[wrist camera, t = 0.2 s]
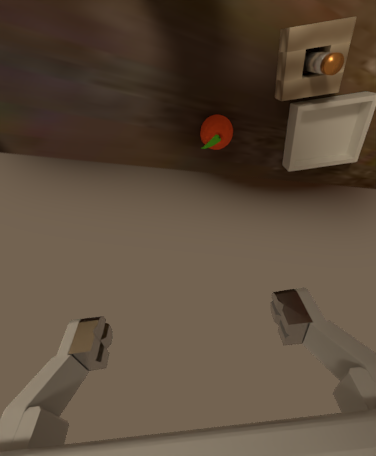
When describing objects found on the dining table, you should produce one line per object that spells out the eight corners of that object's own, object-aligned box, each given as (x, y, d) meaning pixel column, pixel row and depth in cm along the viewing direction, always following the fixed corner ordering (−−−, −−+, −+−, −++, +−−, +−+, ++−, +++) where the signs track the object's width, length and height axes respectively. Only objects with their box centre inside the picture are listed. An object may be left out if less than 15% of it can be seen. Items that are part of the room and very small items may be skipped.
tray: (290, 103, 49) (298, 106, 46) (366, 91, 48) (379, 94, 45) (282, 165, 58) (288, 171, 55) (346, 155, 57) (356, 161, 54)
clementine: (207, 152, 55) (211, 164, 49) (188, 129, 51) (190, 139, 46) (235, 129, 52) (243, 139, 46) (217, 103, 48) (223, 110, 43)
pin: (299, 53, 44) (327, 54, 36) (315, 50, 44) (346, 51, 36) (296, 72, 46) (322, 76, 38) (311, 69, 46) (341, 73, 38)
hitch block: (280, 29, 41) (289, 27, 38) (342, 18, 41) (356, 16, 38) (274, 97, 48) (281, 101, 45) (327, 89, 48) (338, 92, 45)
